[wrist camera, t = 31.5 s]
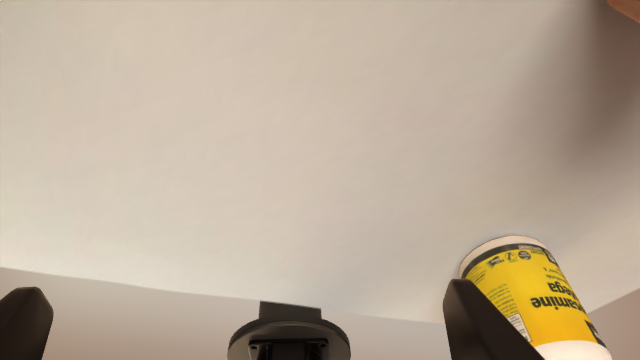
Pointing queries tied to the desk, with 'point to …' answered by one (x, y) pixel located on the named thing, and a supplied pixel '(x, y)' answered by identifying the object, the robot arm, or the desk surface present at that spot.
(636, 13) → the jar
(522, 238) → the pill bottle
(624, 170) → the desk surface
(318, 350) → the robot arm
